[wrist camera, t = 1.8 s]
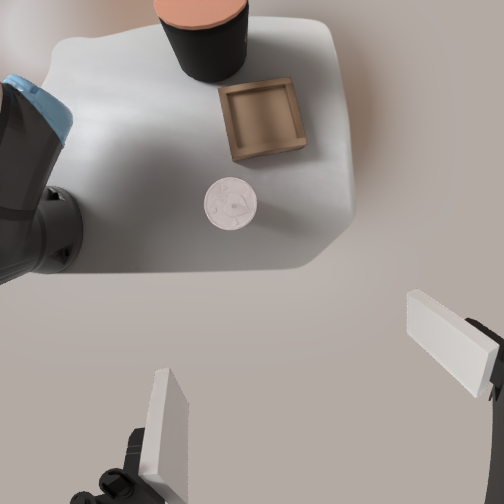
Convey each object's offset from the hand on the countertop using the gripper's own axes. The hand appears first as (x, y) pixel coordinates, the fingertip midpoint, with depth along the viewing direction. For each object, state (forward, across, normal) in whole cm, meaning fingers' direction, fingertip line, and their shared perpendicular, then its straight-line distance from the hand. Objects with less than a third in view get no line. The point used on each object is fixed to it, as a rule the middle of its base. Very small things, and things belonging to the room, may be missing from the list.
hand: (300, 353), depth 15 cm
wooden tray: (+34, +7, +15) cm, 38 cm away
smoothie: (+33, 0, +4) cm, 33 cm away
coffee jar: (+36, +3, +28) cm, 46 cm away
